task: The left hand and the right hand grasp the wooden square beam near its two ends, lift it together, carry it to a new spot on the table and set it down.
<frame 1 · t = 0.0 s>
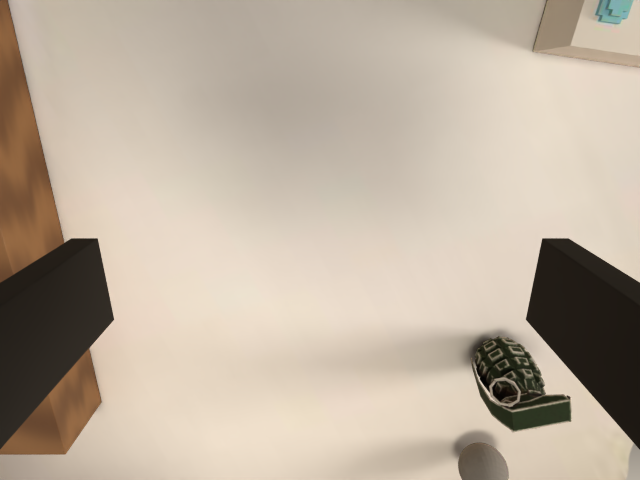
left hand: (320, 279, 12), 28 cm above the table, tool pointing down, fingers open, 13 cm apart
wooden square beam: (4, 183, 40), on the table
grenade: (491, 349, 47), on the table
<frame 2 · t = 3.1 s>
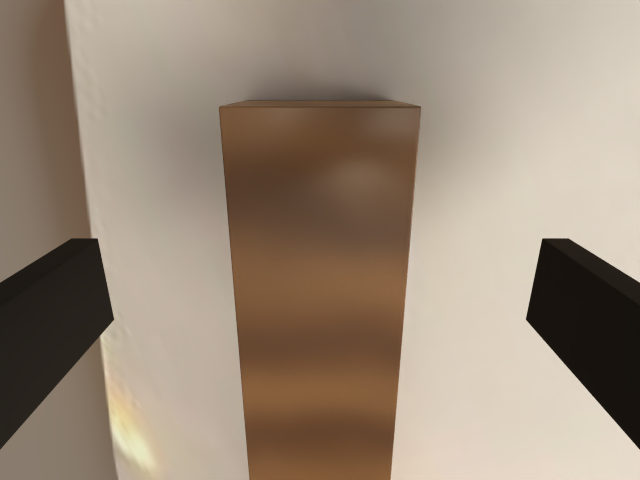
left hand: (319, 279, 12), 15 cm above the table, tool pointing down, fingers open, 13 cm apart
wooden square beam: (319, 434, 35), on the table, touching right hand
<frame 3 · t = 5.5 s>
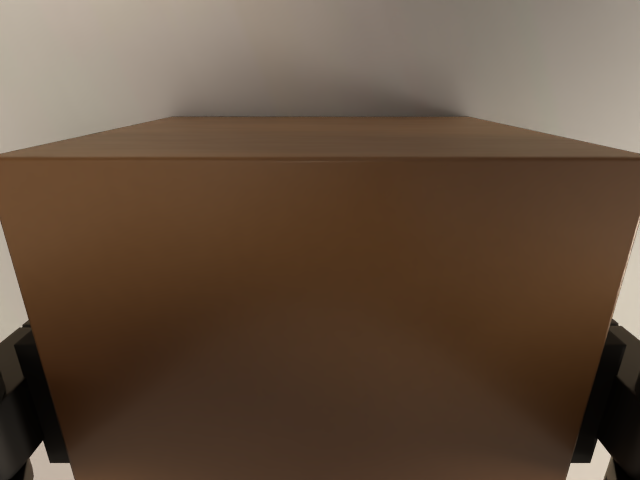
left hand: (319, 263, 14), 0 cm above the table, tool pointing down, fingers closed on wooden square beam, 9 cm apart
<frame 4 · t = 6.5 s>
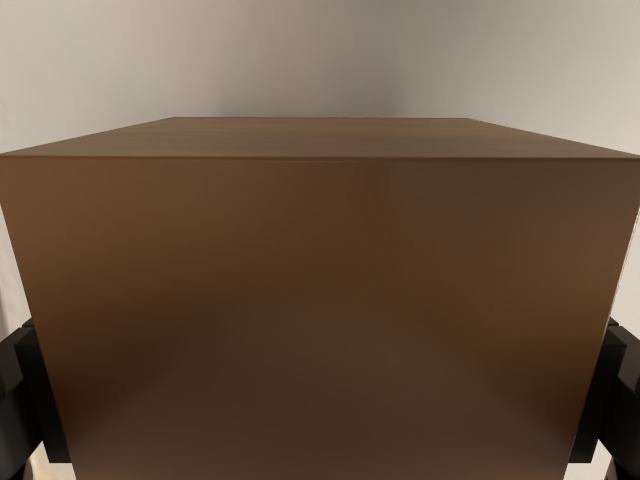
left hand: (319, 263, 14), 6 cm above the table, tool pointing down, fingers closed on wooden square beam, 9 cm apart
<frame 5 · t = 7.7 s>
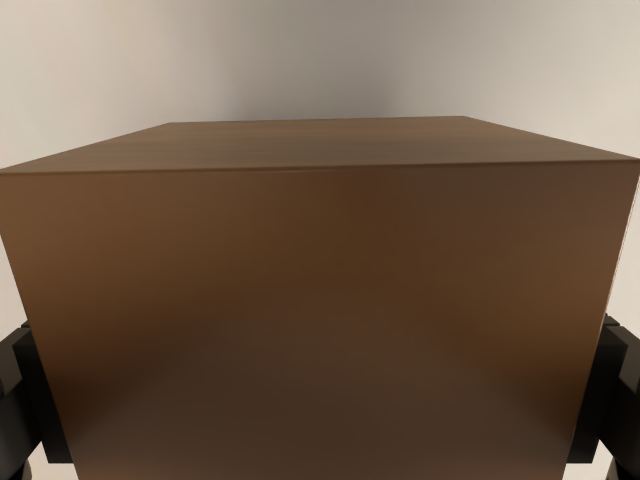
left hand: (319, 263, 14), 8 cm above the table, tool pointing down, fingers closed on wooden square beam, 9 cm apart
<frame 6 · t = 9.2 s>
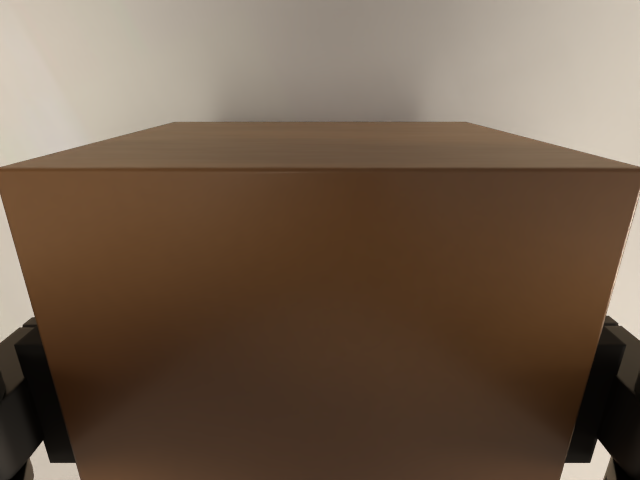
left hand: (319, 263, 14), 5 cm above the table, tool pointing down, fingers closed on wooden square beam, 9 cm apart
when the left hand's fingers open (2 cm above the table, at t = 10.2 s): wooden square beam drops 1 cm, on the table.
when the right hand's fingers open (2 cm above the table, at t = 10.2 s): wooden square beam drops 1 cm, on the table.
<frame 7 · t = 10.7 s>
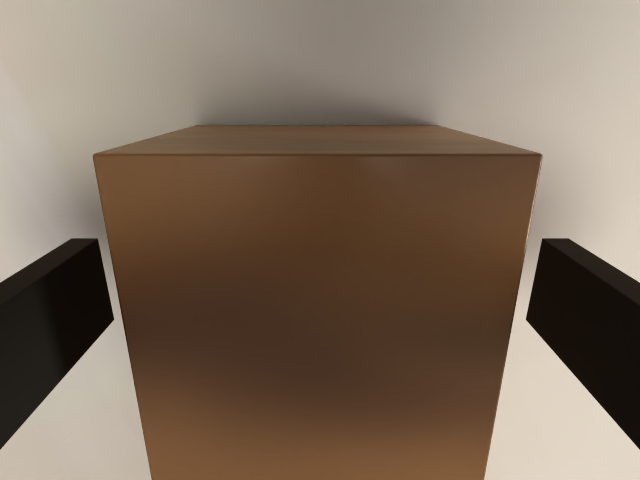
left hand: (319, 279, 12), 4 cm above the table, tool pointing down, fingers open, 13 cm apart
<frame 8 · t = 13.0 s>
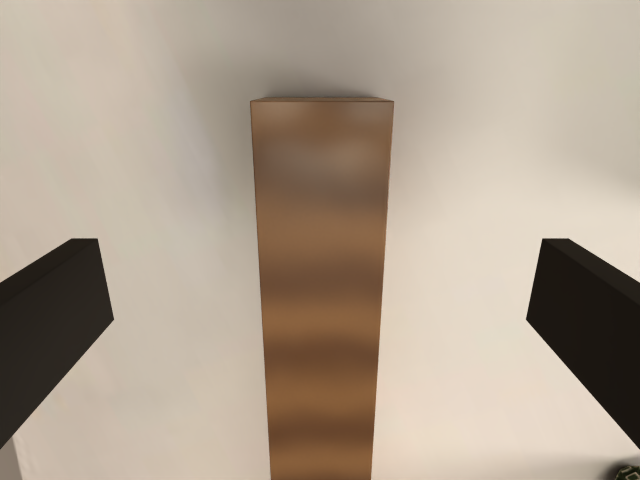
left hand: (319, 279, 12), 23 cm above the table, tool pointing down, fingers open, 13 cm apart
wooden square beam: (320, 372, 42), on the table
grenade: (625, 473, 47), on the table
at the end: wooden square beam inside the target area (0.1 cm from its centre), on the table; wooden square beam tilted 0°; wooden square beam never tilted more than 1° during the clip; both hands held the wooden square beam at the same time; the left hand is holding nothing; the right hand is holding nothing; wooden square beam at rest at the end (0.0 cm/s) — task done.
